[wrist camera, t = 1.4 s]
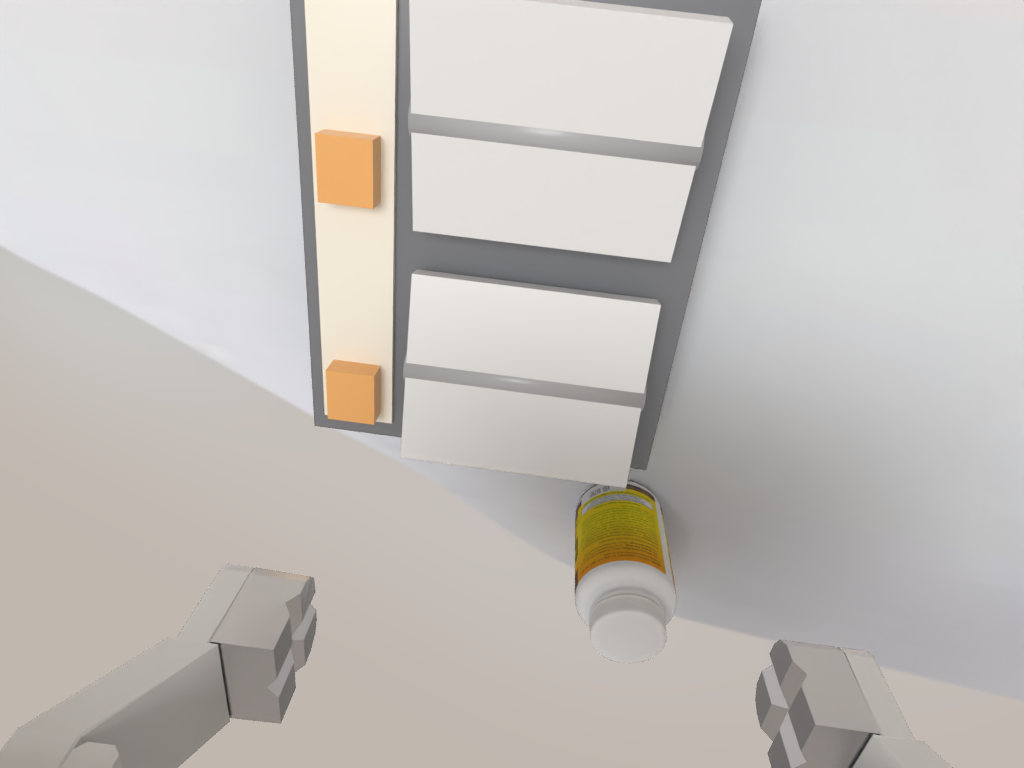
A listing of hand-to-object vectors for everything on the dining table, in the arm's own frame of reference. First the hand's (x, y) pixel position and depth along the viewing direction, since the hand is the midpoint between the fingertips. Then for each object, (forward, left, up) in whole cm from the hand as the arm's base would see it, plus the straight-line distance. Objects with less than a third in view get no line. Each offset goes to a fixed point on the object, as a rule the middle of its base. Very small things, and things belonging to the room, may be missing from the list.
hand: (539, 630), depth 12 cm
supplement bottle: (-6, +18, -26) cm, 32 cm away
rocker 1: (+1, -6, -19) cm, 20 cm away
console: (+3, 0, -26) cm, 26 cm away
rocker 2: (+1, +5, -19) cm, 20 cm away
